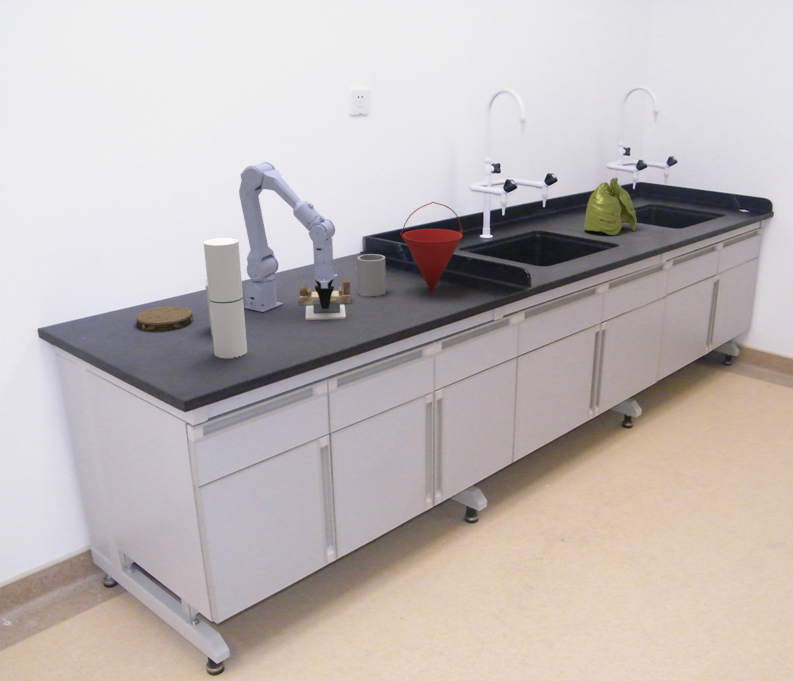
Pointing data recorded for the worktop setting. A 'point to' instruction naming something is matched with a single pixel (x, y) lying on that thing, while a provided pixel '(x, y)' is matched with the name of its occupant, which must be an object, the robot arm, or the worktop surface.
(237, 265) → the container
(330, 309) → the lever cap
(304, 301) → the wooden block stand
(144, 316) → the wood slice
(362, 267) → the cup
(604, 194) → the lungs
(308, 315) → the white base plate
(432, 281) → the fire bucket
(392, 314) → the worktop surface
